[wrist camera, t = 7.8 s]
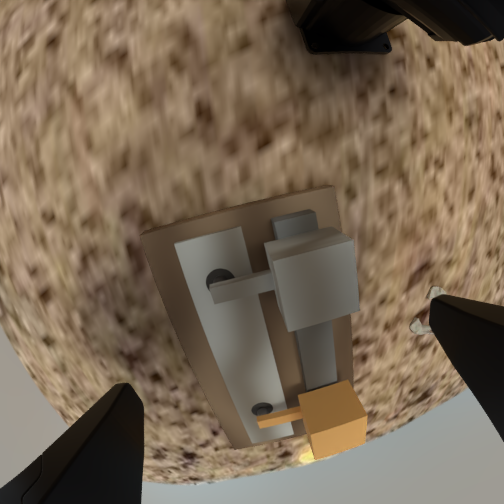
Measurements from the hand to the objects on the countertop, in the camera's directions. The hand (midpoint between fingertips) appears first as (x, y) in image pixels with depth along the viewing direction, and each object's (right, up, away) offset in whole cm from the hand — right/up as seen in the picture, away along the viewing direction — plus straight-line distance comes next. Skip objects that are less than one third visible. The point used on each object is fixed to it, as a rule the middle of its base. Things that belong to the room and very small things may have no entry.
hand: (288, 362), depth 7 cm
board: (+1, -4, +14) cm, 15 cm away
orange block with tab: (+3, -9, +14) cm, 17 cm away
